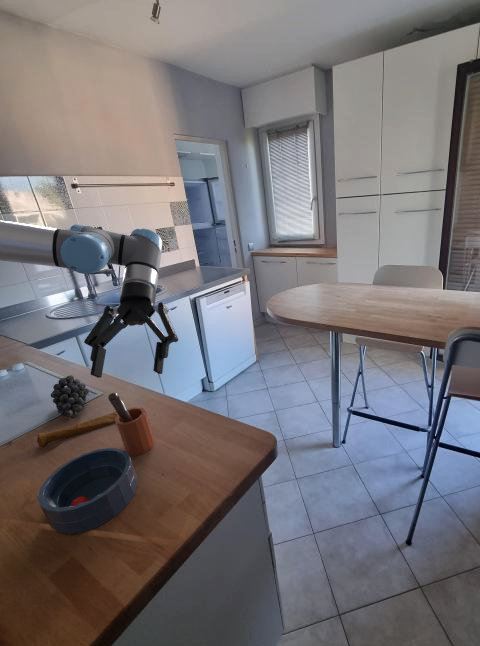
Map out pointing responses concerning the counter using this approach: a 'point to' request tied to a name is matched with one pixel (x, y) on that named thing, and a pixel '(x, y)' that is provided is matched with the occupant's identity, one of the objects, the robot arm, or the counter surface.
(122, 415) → the stick
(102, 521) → the bowl
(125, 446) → the crock
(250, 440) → the counter surface
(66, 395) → the fruit
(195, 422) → the counter surface
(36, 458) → the counter surface
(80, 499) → the tomato
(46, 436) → the primitive tool
